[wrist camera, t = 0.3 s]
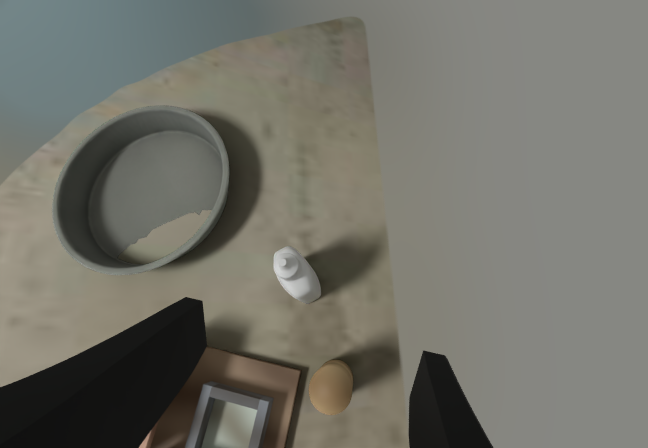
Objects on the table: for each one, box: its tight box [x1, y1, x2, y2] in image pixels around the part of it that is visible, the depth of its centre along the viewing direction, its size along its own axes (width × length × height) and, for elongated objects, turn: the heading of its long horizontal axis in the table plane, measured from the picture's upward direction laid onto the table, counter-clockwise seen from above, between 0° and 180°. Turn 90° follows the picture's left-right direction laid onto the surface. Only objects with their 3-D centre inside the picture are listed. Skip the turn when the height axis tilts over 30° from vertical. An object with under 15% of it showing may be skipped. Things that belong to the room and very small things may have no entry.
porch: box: [139, 347, 302, 448], centre depth 33 cm, size 12×16×6 cm
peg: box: [309, 359, 353, 415], centre depth 32 cm, size 4×4×7 cm
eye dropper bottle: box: [274, 246, 321, 304], centre depth 34 cm, size 4×6×12 cm
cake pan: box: [52, 106, 229, 275], centre depth 44 cm, size 25×25×4 cm
